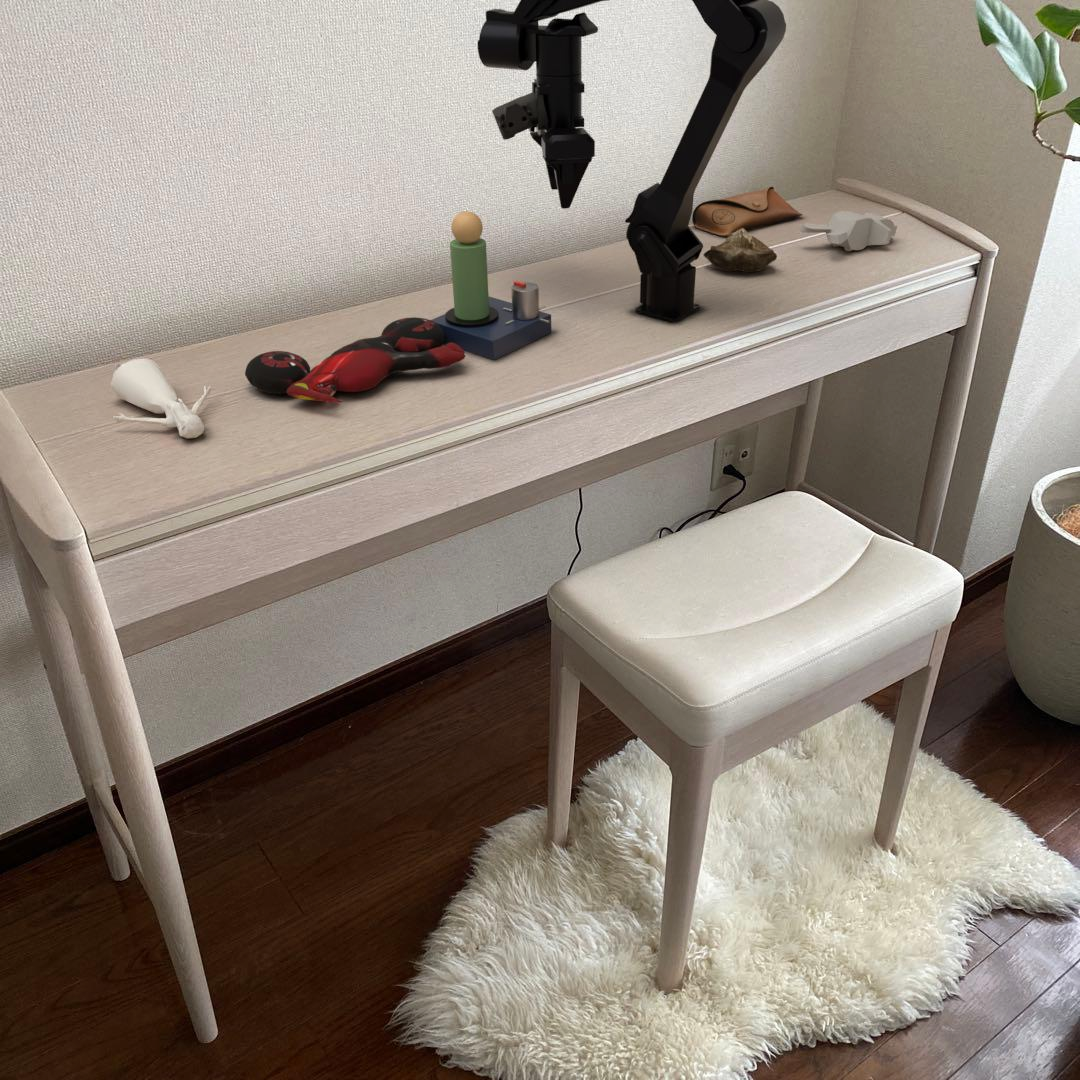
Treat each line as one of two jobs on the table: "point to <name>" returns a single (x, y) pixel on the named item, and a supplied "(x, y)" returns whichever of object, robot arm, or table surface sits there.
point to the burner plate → (458, 322)
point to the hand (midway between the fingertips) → (560, 198)
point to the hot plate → (497, 332)
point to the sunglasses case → (742, 212)
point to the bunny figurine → (855, 230)
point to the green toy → (469, 267)
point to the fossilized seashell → (740, 253)
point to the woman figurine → (155, 397)
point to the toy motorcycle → (355, 362)
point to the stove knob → (525, 300)
